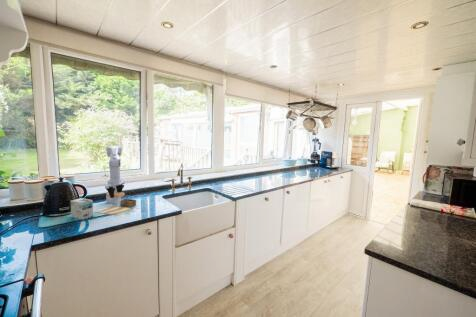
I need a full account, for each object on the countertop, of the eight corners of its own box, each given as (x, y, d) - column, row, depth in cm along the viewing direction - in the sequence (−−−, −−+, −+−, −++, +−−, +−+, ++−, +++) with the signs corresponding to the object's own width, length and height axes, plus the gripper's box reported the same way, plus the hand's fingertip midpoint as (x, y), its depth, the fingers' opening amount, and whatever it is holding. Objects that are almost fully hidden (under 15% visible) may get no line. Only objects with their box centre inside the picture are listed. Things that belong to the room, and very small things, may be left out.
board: (95, 213, 133) (95, 212, 132) (112, 206, 146) (112, 205, 146) (118, 216, 129) (118, 215, 129) (133, 208, 142) (133, 208, 142)
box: (120, 206, 146) (120, 200, 146) (125, 204, 151) (125, 198, 151) (131, 207, 145) (131, 201, 144) (136, 205, 149) (135, 199, 149)
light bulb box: (93, 216, 128) (93, 199, 127) (82, 220, 121) (81, 202, 120) (82, 213, 131) (81, 197, 130) (70, 217, 125) (69, 200, 124)
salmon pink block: (106, 197, 135) (106, 193, 135) (113, 195, 141) (113, 191, 140) (118, 198, 133) (118, 194, 133) (124, 196, 139) (124, 192, 138)
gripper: (111, 179, 128) (111, 200, 129) (128, 175, 142) (128, 194, 143) (102, 178, 129) (102, 199, 131) (119, 174, 144) (120, 193, 145)
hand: (115, 196), depth 137 cm, fingers closed on salmon pink block, 5 cm apart
